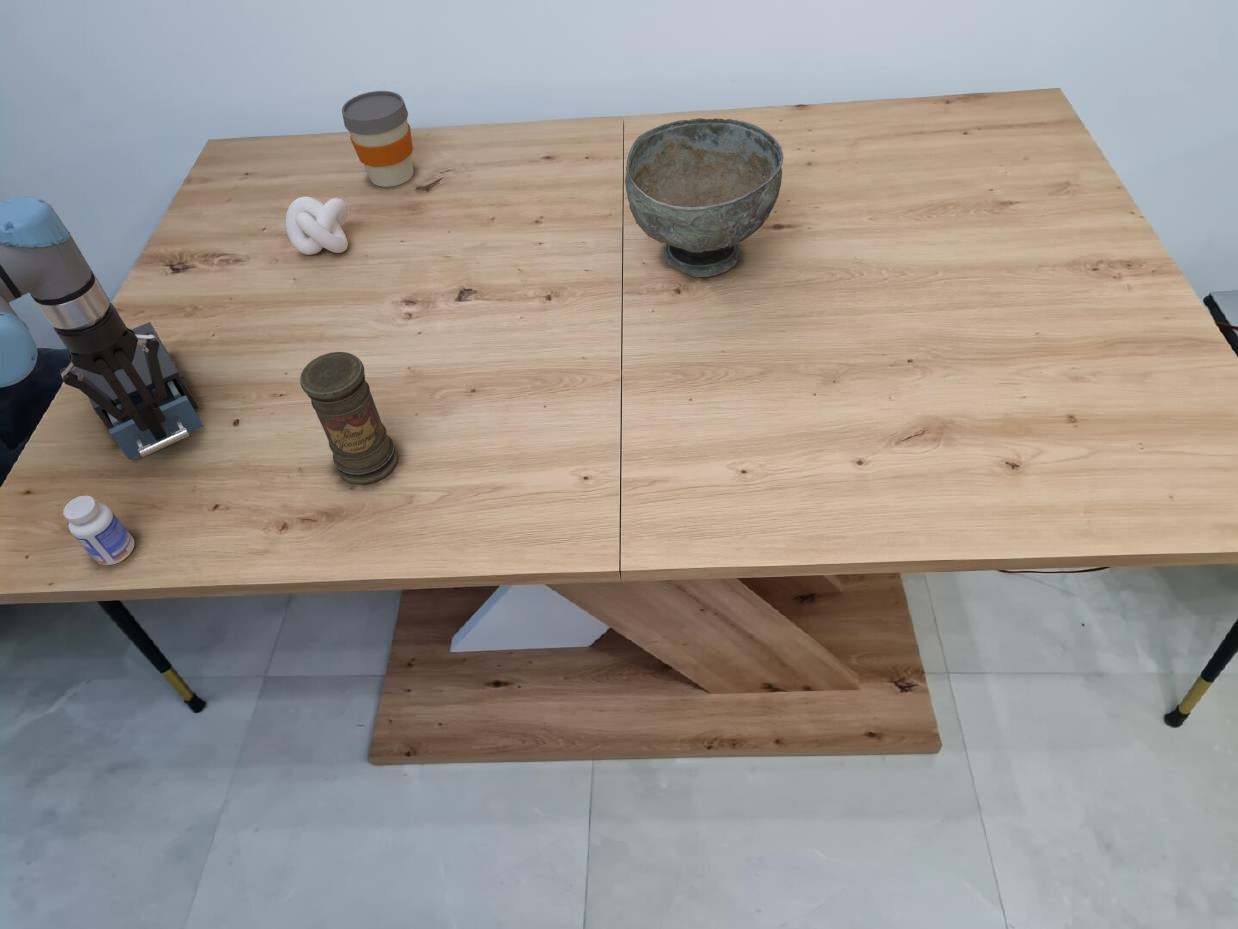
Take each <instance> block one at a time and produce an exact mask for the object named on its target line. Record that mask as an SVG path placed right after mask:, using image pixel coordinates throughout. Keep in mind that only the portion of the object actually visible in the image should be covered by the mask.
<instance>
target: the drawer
mask: <svg viewBox="0 0 1238 929" xmlns="http://www.w3.org/2000/svg"><path fill="white" fill-rule="evenodd" d="M164 385H165V389H166V393H167V398H166V399H164V400H160V401H159V403H158V406H159V407H160V409H161V411H162V412H163V414H164V416H165V418H166V421H165V422H162V423H160V424H161V426H162V427H163V429H164V431H165V432H166V434H167V436H165V437H162V438H160V439H158V440H156V439H155V437H154V436H153V434H152V433H151V431H150V430H149V429H147V430H145V431H143V432H142V431H141V430H139V428H138V427H137V425H136V424H135V422H134V421H133V419H132V418H131V417H128V416H126V417H123V418H122V419H120V420H117V419H115V418H114V417H113V416H111V415H110V414H109V413H108V412H107V413H108V415H109V418H110V420H111V422H112V424H113V426H114V428H111V429H109V430H108V432H109V434H110V436H111V437H112V438H113V440H114V441H115V442H116V444H117V445H118V447H119V448H120V449H121V451H122V453H123V454H124V456H125V457H126V458H127V459H128V461H133V460H135V459H137V458H139V457H141V458H144V457H147V456H149V455H151V454H154V453H155V452H157V451H160V450H162V449H164V448H166V447H168V446H171V445H173V444H175V443H177V442H179V441H181V440H183V439H184V440H185V439H186V438H188V437H190V434H191V433H193V432H195V431H198V430H200V429H201V428H204V424H203V422H202V421H201V419H200V417H199V416H198V414H197V412H196V411H195V410H196V409H193V407H192V405H191V404H190V402H189V400H188V398H187V397H186V395H185V396H183V397H182V396H181V394H180V392H179V390H178V388H177V386H176V385H175V383H174V381H173V379H172V380H169V381H167V382H165V383H164ZM152 390H153V388H151V389H149V391H150V392H151V391H152ZM131 399H132V400H133V402H134V404H135V405H137V404H140V403H142V402H144V400H143V399H142V397H141V396H140V394H137V395H135V396H133V397H131ZM117 404H118V405H120V404H122V403H121V402H119V403H117Z"/></svg>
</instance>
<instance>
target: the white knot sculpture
mask: <svg viewBox="0 0 1238 929" xmlns="http://www.w3.org/2000/svg"><path fill="white" fill-rule="evenodd" d="M347 216H348V205H347V204H346V201H345V200H343V199H341V198H340V197H333V198H332V197H331V198H330V199H329V200H327V201H326V202H325V203H324V204H323V203H322V202H321V201H320V200H318V199H316V198H314V197H311V196H301V197H298V198H296V199H294V200H293V201H292V202H291V203H290V205H289V206H288V208H287V210H286V214H285V230H286V235H287V237H288V241H290V244H291V245H292V246H293V247H294V249H296V250H297V251H298V252H299V253H301V254H303V255H307V256H311V255H316V254H319V253H320V252H321V251H322V250H323V249H326V250H327V251H330V252H332V253H334V254H341V253H344V252H345V251H346V250H347V249H348V246H349V242H348V238H347V236H346V233H345V232H344V229H343V228H342V227H343V225H344V224H345V222H346V220H347ZM307 236H308V237H309V238H308V237H307Z"/></svg>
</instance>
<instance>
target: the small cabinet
mask: <svg viewBox="0 0 1238 929" xmlns="http://www.w3.org/2000/svg"><path fill="white" fill-rule="evenodd" d="M130 329H131V330H132V331H134V333H135V334H137V335H146V333H148V332H153V333H154V335H155V336H156V338H157V340H158V342H159V350H158V355H157V356H158V360H159V364H160V368H161V373H162V377H163V381H164V383H165V382H167V381H169V380H172V379H173V381H174V383H175V385H176V386H177V388H178V390H179V392H180V394H181V396H182V397H183V396H185V395H186V397H187V398H188V400H189V402H190V404H191V405H192V407H193V409H194V410H197V409H198V408H199V406H198V404H197V402H196V400H195V399H194V397H193V395H192V393H191V392H190V390H189V388H188V386H187V384H186V382H185V380H184V379H183V377H182V375H181V373H180V372H179V370H178V368H177V367H176V364H175V363H174V361H173V359H172V357H171V356H170V354H169V352H168V351H167V349H166V347H165V345H164V343H163V342H162V340H161V338H160V336H159V335H158V334H157V331H156V330H155V328H154V327H153V325H152V323H151V321H149V322H146V323H143V324H141V325H138V326H136V327H133V328H130ZM132 364H133V366H134V367H135V369H136V370H137V372H138V374H139V375H140V377H141V378H142V380H143V382H144V383H145V385H146V386H147V388H148V389H151V388H153V385H152V381H151V377H150V373H149V370H148V366H147V362H146V358H145V354H144V351H142V350H141V348H140V346H139V345H138V344H137V347H136V351H135V355H134V359H133V361H132ZM80 370H81V371H82V372H83V375H84V376H85V377H86V378H88V379H89V380H90V381H91V382H92V383H94V384H95V385H96V386H97V387H98V388H99V389H101V390H102V391H103V392H104V393H105V394H107V395H108V396H109V397H110V398H111V399H113V400H114V401H115V402H116V403H119V402H120V400H119V399H118V397H117V396H116V394H115V393H114V391H113V390H112V388H111V387H110V385H109V384H108V383H107V381H106V380H105V378H104V377H103V375H98V374H95V373H92V372H89V371H86V370H83V369H81V368H80ZM115 375H116V376H117V378H118V379H119V381H120V382H121V384H122V385H123V387H124V388H125V390H126V392H127V393H128V395H129V396H130V398H131V397H133V396H135V395H137V394H139V393H138V391H137V390H136V388H135V386H134V385H133V383H132V382H131V380H130V379H129V377H128V376H127V374H126V373H125V371H124V370H123V369H121V370H117V371H116V372H115ZM88 399H89V402H90V404H91V406H92V408H93V410H94V412H95V414H96V415H97V416H98V417H99V419H100V420H101V422H102V423H103V424H104V427H106V429H107V430H108V431H109V429H111V428H114V426H113V424H112V422H111V420H110V418H109V415H108V413H107V412H106V411H105V410H104V409H103V408H102V407H100V406H99V405H98V404H97V403H95V402H94V401H93V400H92V399H91V398H89V397H88Z"/></svg>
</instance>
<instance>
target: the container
mask: <svg viewBox="0 0 1238 929" xmlns="http://www.w3.org/2000/svg"><path fill="white" fill-rule="evenodd" d="M299 382H300V383H299V384H300V387H301V389H302V391H303V392H304V393H305V394H306V395H307V397H308V398H309V399H310V403H311V406H312V408H313V409H314V411H315V414H316V416H317V418H318V420H319V423H320V425H321V427H322V429H323V432H324V434H325V436H326V438H327V441H328V446H329V449H330V451H331V452H332V462H333V463H334V468H335V470H336V473H337V474H338V475H339V477H340V478H341V479H343V481H346V482H347V483H349V484H353V485H359V486H360V485H362V486H363V485H369V484H374V483H376V482H379V481H381V480H383V479H384V478H386V477H388V476H389V475H390V474H391V473H392V471H393V470H394V469H395V467H396V466H397V463H398V457H399V456H398V450H397V448H396V446H395V444H394V441H393V439H392V438H391V437H390V436H389V435H388V432H387V428H386V426H385V425H384V424H383V422H382V419H381V417H380V414H379V411H378V409H377V406H376V403H375V401H374V397H373V395H372V393H371V388H370V385H369V383H368V381H366V374H365V366H364V364H363V362H362V361H361V359H360V358H359V357H358V356H357V355H355V354H353V353H350V352H346V351H333V352H329V353H325V354H321V355H319V356H318V357H315V358H314V359H312V360H311V361H310V362H308V363H307V364H306V365H305V367H304V368H303V369H302V371H301V373H300V378H299Z"/></svg>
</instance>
